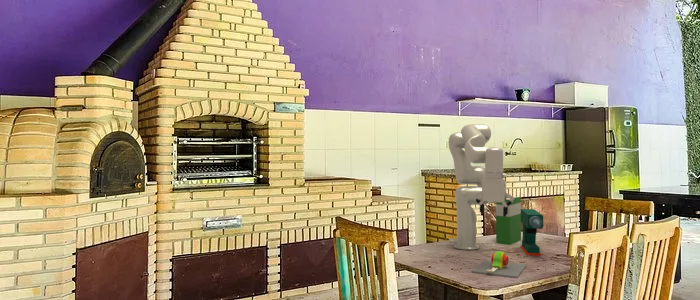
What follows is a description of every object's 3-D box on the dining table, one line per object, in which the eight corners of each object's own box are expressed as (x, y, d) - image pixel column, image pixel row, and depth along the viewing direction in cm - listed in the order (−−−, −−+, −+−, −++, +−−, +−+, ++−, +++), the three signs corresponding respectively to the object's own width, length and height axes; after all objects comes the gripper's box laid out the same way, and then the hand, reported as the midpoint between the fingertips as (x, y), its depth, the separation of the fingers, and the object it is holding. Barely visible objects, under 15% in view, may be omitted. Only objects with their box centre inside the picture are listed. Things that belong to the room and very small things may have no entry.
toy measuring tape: (511, 265, 203) (511, 250, 203) (496, 274, 188) (496, 258, 188) (497, 263, 207) (497, 248, 207) (481, 272, 191) (480, 256, 191)
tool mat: (471, 272, 194) (471, 270, 194) (484, 261, 213) (484, 259, 213) (517, 278, 185) (517, 276, 185) (526, 265, 204) (526, 264, 204)
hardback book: (507, 238, 267) (507, 196, 267) (521, 240, 263) (520, 197, 262) (496, 243, 253) (496, 198, 253) (509, 245, 249) (509, 199, 249)
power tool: (548, 262, 210) (548, 217, 210) (531, 262, 211) (531, 217, 211) (535, 248, 241) (534, 209, 241) (520, 247, 243) (520, 208, 243)
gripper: (516, 176, 205) (515, 215, 206) (476, 174, 213) (475, 212, 214) (512, 177, 198) (512, 218, 199) (471, 175, 207) (471, 214, 207)
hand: (493, 214), depth 207 cm, fingers open, 9 cm apart
